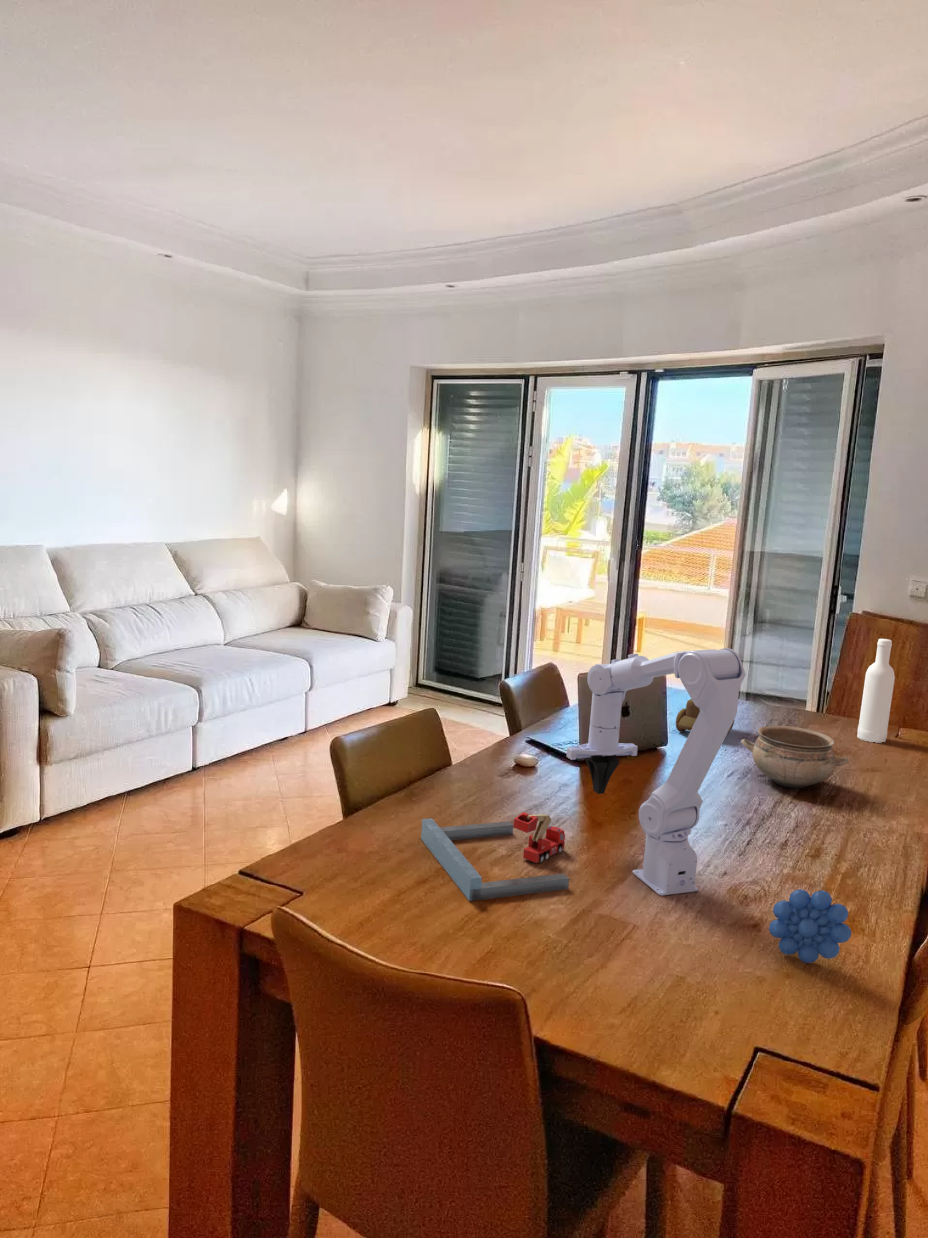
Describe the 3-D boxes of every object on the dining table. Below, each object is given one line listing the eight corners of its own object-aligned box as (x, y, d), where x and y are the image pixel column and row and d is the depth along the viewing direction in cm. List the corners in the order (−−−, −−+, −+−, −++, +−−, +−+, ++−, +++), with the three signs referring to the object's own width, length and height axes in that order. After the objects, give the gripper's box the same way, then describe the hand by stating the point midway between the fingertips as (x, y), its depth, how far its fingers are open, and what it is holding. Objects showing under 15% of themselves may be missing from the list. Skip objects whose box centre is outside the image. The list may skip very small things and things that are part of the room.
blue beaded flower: (851, 963, 137) (861, 890, 135) (842, 983, 131) (852, 906, 129) (773, 938, 143) (782, 867, 141) (761, 955, 138) (771, 882, 136)
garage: (568, 889, 156) (570, 867, 155) (469, 901, 149) (470, 878, 148) (508, 830, 180) (510, 811, 179) (421, 838, 173) (422, 819, 172)
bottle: (887, 739, 266) (902, 640, 261) (884, 745, 259) (898, 643, 254) (858, 733, 270) (872, 636, 265) (854, 739, 263) (868, 639, 258)
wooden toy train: (702, 721, 272) (707, 668, 270) (737, 730, 265) (744, 675, 262) (670, 733, 257) (676, 677, 255) (707, 743, 250) (714, 685, 247)
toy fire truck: (566, 850, 172) (570, 802, 170) (524, 872, 162) (528, 821, 160) (551, 845, 174) (555, 797, 173) (509, 866, 164) (513, 815, 162)
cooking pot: (848, 784, 222) (854, 736, 220) (840, 806, 205) (847, 755, 204) (745, 763, 233) (750, 718, 231) (729, 783, 217) (735, 734, 215)
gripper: (626, 717, 179) (620, 782, 181) (561, 720, 174) (556, 787, 176) (645, 727, 172) (639, 794, 175) (578, 731, 167) (572, 800, 169)
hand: (598, 792), depth 175 cm, fingers closed
